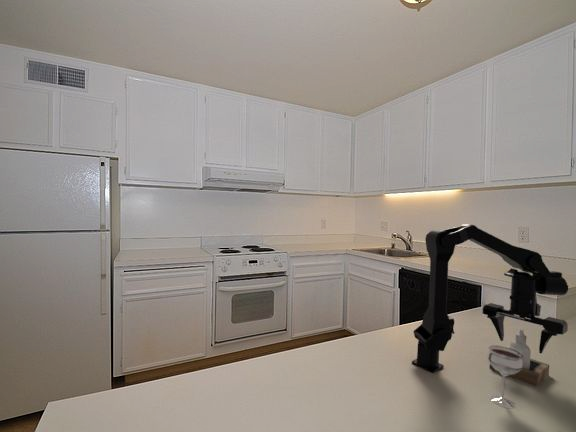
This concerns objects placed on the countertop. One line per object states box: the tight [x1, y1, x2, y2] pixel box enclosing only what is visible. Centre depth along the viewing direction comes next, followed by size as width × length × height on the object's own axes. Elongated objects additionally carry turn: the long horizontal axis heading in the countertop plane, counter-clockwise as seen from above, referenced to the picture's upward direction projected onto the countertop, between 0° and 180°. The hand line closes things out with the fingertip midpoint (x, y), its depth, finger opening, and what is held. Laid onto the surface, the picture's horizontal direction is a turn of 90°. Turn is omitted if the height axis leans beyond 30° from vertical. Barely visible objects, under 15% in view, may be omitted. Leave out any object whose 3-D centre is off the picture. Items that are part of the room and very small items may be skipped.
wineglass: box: [487, 344, 523, 409], centre depth 70 cm, size 7×7×12 cm
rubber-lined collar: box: [489, 358, 550, 387], centre depth 85 cm, size 11×11×3 cm
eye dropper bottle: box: [509, 329, 532, 370], centre depth 85 cm, size 4×6×12 cm
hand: (520, 346), depth 85 cm, fingers open, 9 cm apart
